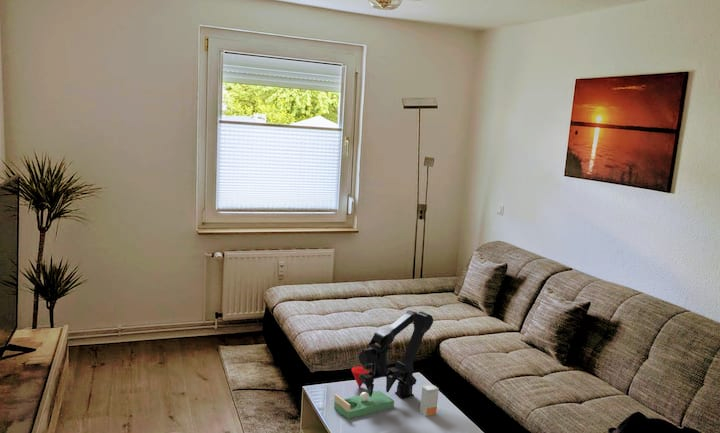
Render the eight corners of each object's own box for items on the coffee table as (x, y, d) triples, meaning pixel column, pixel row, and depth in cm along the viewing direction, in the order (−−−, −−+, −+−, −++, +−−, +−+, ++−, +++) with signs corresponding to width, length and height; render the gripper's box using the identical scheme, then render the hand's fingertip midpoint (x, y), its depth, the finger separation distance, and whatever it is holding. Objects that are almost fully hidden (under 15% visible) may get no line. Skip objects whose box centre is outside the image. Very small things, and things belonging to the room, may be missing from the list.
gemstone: (367, 393, 259) (368, 373, 258) (348, 391, 261) (349, 370, 260) (370, 386, 268) (372, 365, 267) (352, 383, 270) (354, 363, 269)
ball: (363, 400, 247) (367, 391, 248) (368, 403, 244) (372, 395, 245) (356, 398, 245) (360, 389, 246) (361, 402, 242) (365, 393, 242)
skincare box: (425, 417, 241) (427, 390, 239) (419, 412, 244) (421, 386, 243) (436, 414, 243) (439, 388, 242) (431, 410, 247) (433, 384, 246)
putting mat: (379, 397, 257) (380, 384, 256) (393, 407, 248) (394, 394, 247) (333, 408, 243) (333, 394, 242) (346, 419, 234) (347, 405, 233)
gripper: (387, 350, 259) (385, 383, 261) (352, 357, 249) (351, 391, 251) (401, 359, 250) (399, 392, 252) (367, 366, 239) (365, 401, 242)
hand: (378, 394), depth 249 cm, fingers open, 9 cm apart
